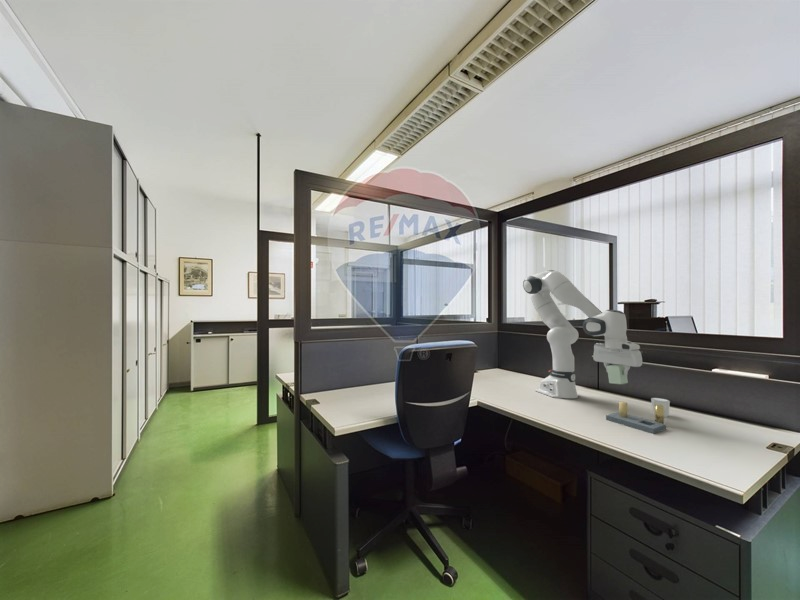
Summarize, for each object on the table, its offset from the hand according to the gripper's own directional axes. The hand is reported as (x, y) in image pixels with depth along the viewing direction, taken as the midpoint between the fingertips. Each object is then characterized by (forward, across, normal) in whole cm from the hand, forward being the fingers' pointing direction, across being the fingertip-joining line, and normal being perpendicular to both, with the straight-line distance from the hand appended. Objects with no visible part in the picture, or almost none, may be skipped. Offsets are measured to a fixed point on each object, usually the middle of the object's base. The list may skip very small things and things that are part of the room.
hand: (616, 373), depth 151 cm
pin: (+19, +16, +1) cm, 25 cm away
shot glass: (+19, +10, +16) cm, 27 cm away
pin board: (+19, +11, -8) cm, 23 cm away
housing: (+4, 0, 0) cm, 4 cm away
